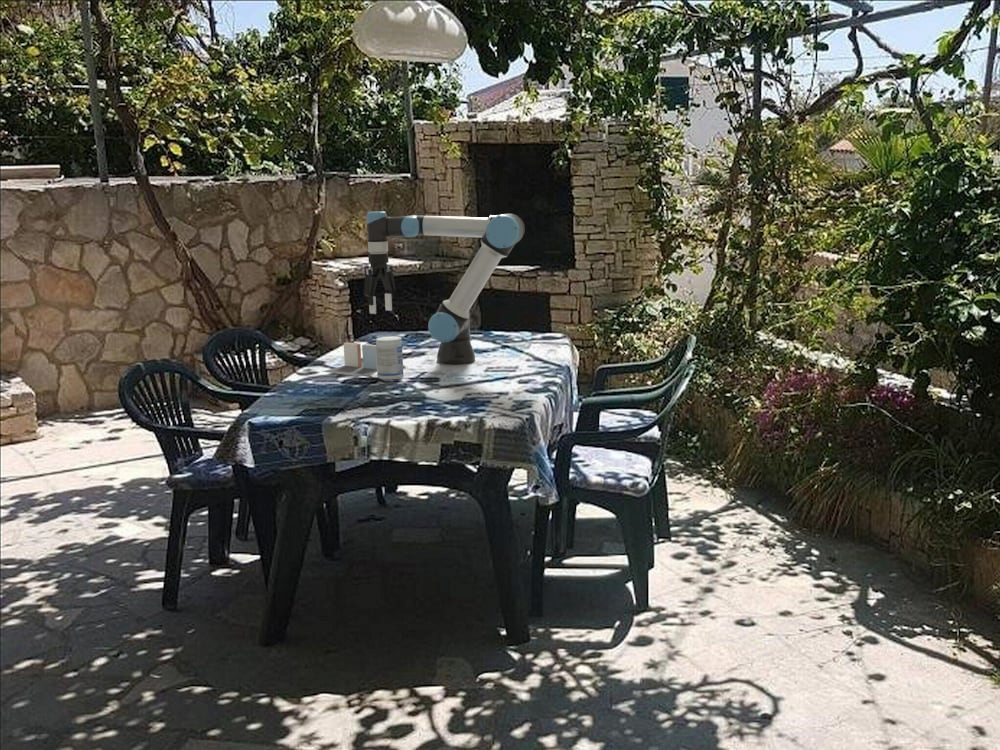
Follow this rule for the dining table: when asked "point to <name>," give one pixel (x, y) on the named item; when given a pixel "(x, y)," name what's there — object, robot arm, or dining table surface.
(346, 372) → the mat
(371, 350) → the tan rectangular block
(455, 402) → the dining table surface
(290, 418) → the dining table surface
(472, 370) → the dining table surface
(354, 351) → the tan flat block
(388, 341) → the supplement tub
